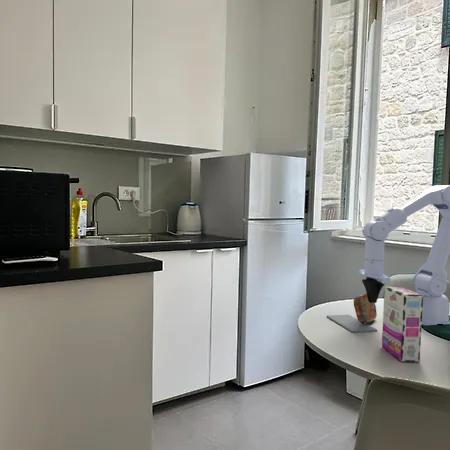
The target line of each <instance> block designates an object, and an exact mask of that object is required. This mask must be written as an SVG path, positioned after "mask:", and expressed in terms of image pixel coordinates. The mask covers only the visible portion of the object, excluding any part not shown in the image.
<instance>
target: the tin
mask: <svg viewBox="0 0 450 450" xmlns="http://www.w3.org/2000/svg"><path fill="white" fill-rule="evenodd" d="M353 307H354V311H355V314H356V319H358V320H359V322H360V323H366V324H367V323H371V322H372V321H373V320H375V319H377V315H378V314H377V307H376V303H370V302H368V297H367V293H363V294H360V295H357V296H355V297H354V299H353Z"/></svg>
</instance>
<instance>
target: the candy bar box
mask: <svg viewBox="0 0 450 450" xmlns="http://www.w3.org/2000/svg"><path fill="white" fill-rule="evenodd" d="M383 294H384V296H383V312H382V313H383V314H382V315H383V316H382V333H381V336H382V337H381V348H382V349H384V351H386V352H387V353H389V354H391V355H392V356H393V357H394V358H395V359H397V360H398V361H400V362H401V363H419V362H420V361H421V346H422V345H421V342H422V340H421V339H422V325H423V324H422V310H423V295H421V294H419V293H417V292H416V291H414V290H410V289H408V288H405V287H403V286H391V285H390V286H384V293H383Z"/></svg>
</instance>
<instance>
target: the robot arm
mask: <svg viewBox="0 0 450 450" xmlns="http://www.w3.org/2000/svg"><path fill="white" fill-rule="evenodd" d="M430 205H432V206H433V207H434V208H435V209H437V210H438V212H439V213H440V214H441V217H442V218H441V221H440V223H439V226H438V229H437V232H436V235H435V236H434V239H433V243H432V246H431V248H430V252H429V254H428V257H427V259H426V262H425V263H423V264H422V265H421V266H420V267H419V269H418V272H416V273H415V274H414V275H413V278H412V285H413V287H414V288H415V292H416V293H419V294H421V295H423V310H422V325H423V326H438V325H437V324H443V325H450V300H449V298H448V297H447V295H445V294H444V293H446V290H447V289H448V288H447V287H448V285H447V280H448V272H447V270H446V269H445V268H446V265H447V262H448V260H449V256H450V184H447V185H438V184H436V185H432V186H431V187H430V188H427V189H425V190H424V191H423V192H422V193H421V194H419V195H417V196H416V197H415V198H413V199H412V200H410V201H409V202H407V203H406V204H405V205H403V206H401V207H396V206H395V207H390V208H388V209H387V212H385V213H384V214H382V215H380V216H376V217H375V220H371V221H368V222H366V223H365V225H364V226H363V229H362V230H361V231H362V235H363V236H364V239H365V241H364V242H365V245H364V267H363V268H364V269H358V276H359V277H364V278H365V279H364V278H363V279H362V280H361V282H362V285H363V286H364V288H365V292H366V293H365V294H367V297H368V302H370V303H375V304H376V303H377V302H378V299H379V295H380V293H381V290H382V289H383V287H385V285H389V284H390V283H391V282H390V281H391V280H390V279H391V277H390V276H387V275H386V274H384V266H385V264H384V263H385V242H386V240H385V239H387V238H388V237H389V236H390V235H389V234H390V233H391V232H393V231H395V230H396V229H398V228H399V227H400V226H402V225H404V224H405V223H407V221H408V220H407V219H408V217H409V216H411V215H413V214H415V213H417V212H419V211H420V210H422V209H423V208H425V207H427V206H430Z"/></svg>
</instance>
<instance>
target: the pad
mask: <svg viewBox="0 0 450 450" xmlns="http://www.w3.org/2000/svg"><path fill="white" fill-rule="evenodd" d="M326 318H327V319H329V320H331V321H332V322H334V323H335V324H337V325H339V326H341V327H342V328H344V329H345V330H348V331H349V332H350V333H356V334H357V333H370V332H371V333H372V332H378V329H377V328H375V327H374V326H372V325H370V324H368V323H367V322H366V323H360V322H359V320H358V319H357V317H354V316H352V315H351V314H331V315H329V314H327V315H326Z"/></svg>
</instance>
